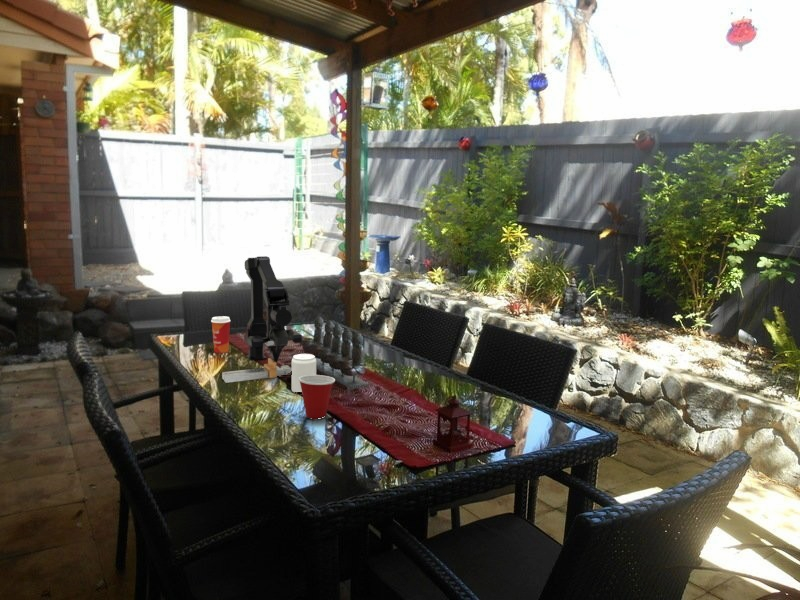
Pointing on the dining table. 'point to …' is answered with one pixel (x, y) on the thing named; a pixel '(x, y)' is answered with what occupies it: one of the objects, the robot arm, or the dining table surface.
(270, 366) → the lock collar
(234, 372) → the bar
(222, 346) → the paper cup
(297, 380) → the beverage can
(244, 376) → the base
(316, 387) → the plastic cup
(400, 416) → the dining table surface
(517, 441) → the dining table surface
